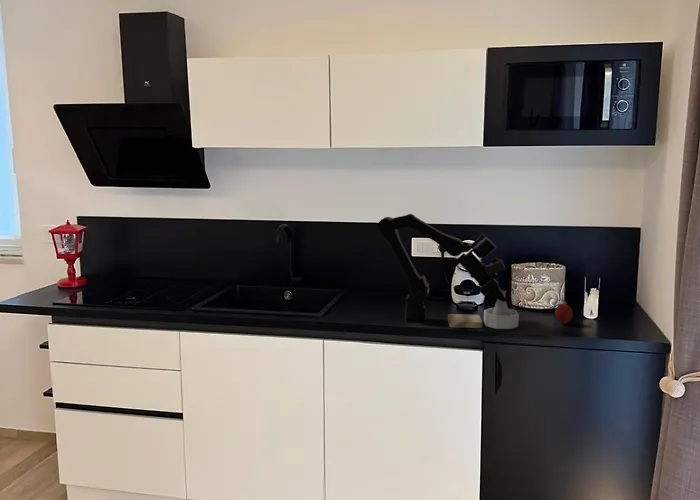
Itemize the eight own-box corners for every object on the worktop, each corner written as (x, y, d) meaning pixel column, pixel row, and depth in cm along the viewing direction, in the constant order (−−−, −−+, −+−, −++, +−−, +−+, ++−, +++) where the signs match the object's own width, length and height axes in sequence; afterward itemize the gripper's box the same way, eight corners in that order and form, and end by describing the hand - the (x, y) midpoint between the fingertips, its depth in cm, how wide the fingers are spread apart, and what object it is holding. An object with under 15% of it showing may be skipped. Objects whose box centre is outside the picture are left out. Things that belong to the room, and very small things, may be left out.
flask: (495, 315, 228) (496, 287, 226) (514, 318, 224) (515, 290, 222) (486, 319, 222) (487, 291, 221) (505, 322, 218) (506, 294, 216)
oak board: (450, 327, 220) (450, 321, 219) (447, 319, 230) (447, 314, 229) (482, 327, 219) (482, 322, 219) (478, 320, 229) (478, 314, 228)
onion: (562, 327, 220) (563, 304, 219) (551, 322, 225) (552, 300, 224) (575, 325, 222) (577, 302, 221) (564, 321, 227) (565, 299, 226)
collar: (486, 328, 218) (487, 315, 217) (482, 319, 229) (482, 307, 229) (519, 329, 217) (520, 316, 217) (514, 320, 228) (514, 308, 228)
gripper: (491, 256, 211) (524, 290, 210) (491, 247, 229) (522, 279, 228) (466, 278, 214) (499, 312, 213) (468, 268, 232) (498, 299, 231)
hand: (505, 299), depth 222 cm, fingers closed on flask, 3 cm apart
